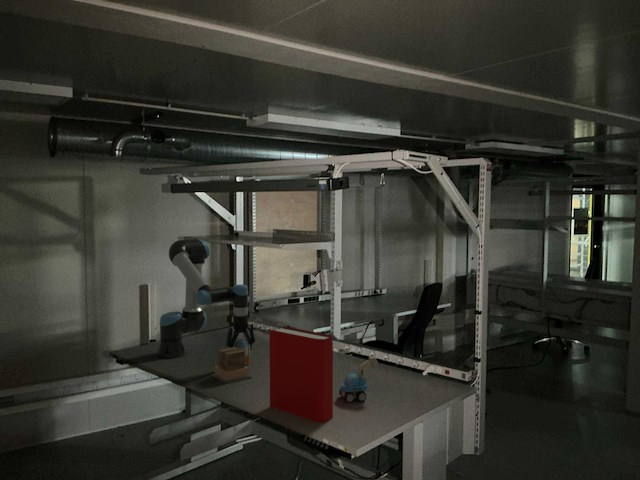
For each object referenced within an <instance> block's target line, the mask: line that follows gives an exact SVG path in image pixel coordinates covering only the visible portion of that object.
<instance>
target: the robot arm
mask: <svg viewBox="0 0 640 480" xmlns="http://www.w3.org/2000/svg"><path fill="white" fill-rule="evenodd" d="M209 256H210V247H209V245H208V242H207V241H205V240H204V239H202V238H201V239H200V238H192V239H179V240H176V241H174V242H173V243H171V245H170V246H169V249H168V257H169V258H168V259H169V261H170V262H171V264H172V265H173V266H175V267H177V268H178V270H179V272H181V274H182V276H184V278H185V300H184V301H185V304H184V307H183V308H182V311H169V312H166V313H163V314H162V315H161V316H160V317H159V328H160V329H159V333H160V335H159V337H160V342H159V346H158V349H157V352H156V353H157V356H156V357H158V358H161V359H175V358H181V357H182V356H183V357H184V356H185V355H186V347H185V345H184V342H183V336H182V335H185V334H190V333H197V332H199V331H203V329H205V327H206V326H207V321H208V317H207V313H206V312H205V311H204V308H203V307H202V306H207V305H213V304H220V303H221V304H222V303H227V302H231V303H232V308H233V309H232V311H233V312H232V313H233V316H232V317H233V319H232V322H233V325H232V326H228V327H227V331H228V332H227V337H226V342H225V343H226V344H225V346H226V347H227V348H232V347H235V343H236V342H237V338H238V336H239V334H241V333H242V334H243V336H244V337H245V341H246V343H247V346H248V354H247V356H248V357H249V358H251V351H252V350H253V348H252V347H253V346H252V345H254V343H256V340H255V339H256V338H255V333H254V324H252V323H248V322H249V315H248V314H249V290H248V285H246V284H234V285H233V287H232V286H228V285H226V286H224V285H223V286H220V287H219V288H217V287H216V288H212V287H211V286H210V285H209V283H208V281H206V279H205V278H204V276H203V275H202V272H203V269H202V268H203V265H204V264H205V261H206V259H208V258H209Z"/></svg>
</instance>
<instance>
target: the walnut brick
mask: <svg viewBox="0 0 640 480" xmlns="http://www.w3.org/2000/svg"><path fill="white" fill-rule="evenodd" d="M217 352H218V353H217V355H218V357H217V359H218V363H217V364H218V365H217V366H219V367H221V368H223V369H225V370H226V371H232V370H236V369H241V368H245V366H246V362H245V351H243V350H240V349H238V348H236V347H235V346H234V347H232V348H230V347H227V348H223V349H222V348H221V349H218V351H217Z"/></svg>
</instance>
